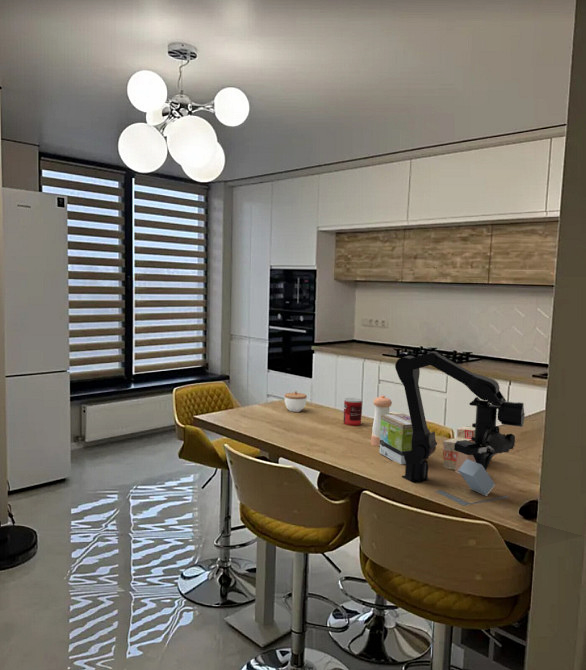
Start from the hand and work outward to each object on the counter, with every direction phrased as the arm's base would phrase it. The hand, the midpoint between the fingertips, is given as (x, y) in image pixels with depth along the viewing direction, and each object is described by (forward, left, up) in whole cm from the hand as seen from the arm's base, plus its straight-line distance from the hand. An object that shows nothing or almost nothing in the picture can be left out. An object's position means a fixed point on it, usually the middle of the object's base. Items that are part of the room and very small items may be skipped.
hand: (482, 473), depth 167 cm
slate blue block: (+1, 0, -4) cm, 4 cm away
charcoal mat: (-4, 0, -6) cm, 7 cm away
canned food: (+11, +87, -7) cm, 88 cm away
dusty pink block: (+9, +15, -6) cm, 19 cm away
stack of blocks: (+17, +23, -6) cm, 29 cm away
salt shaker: (+3, +55, -7) cm, 55 cm away
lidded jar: (-1, +119, -7) cm, 119 cm away
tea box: (-1, +37, -7) cm, 38 cm away
